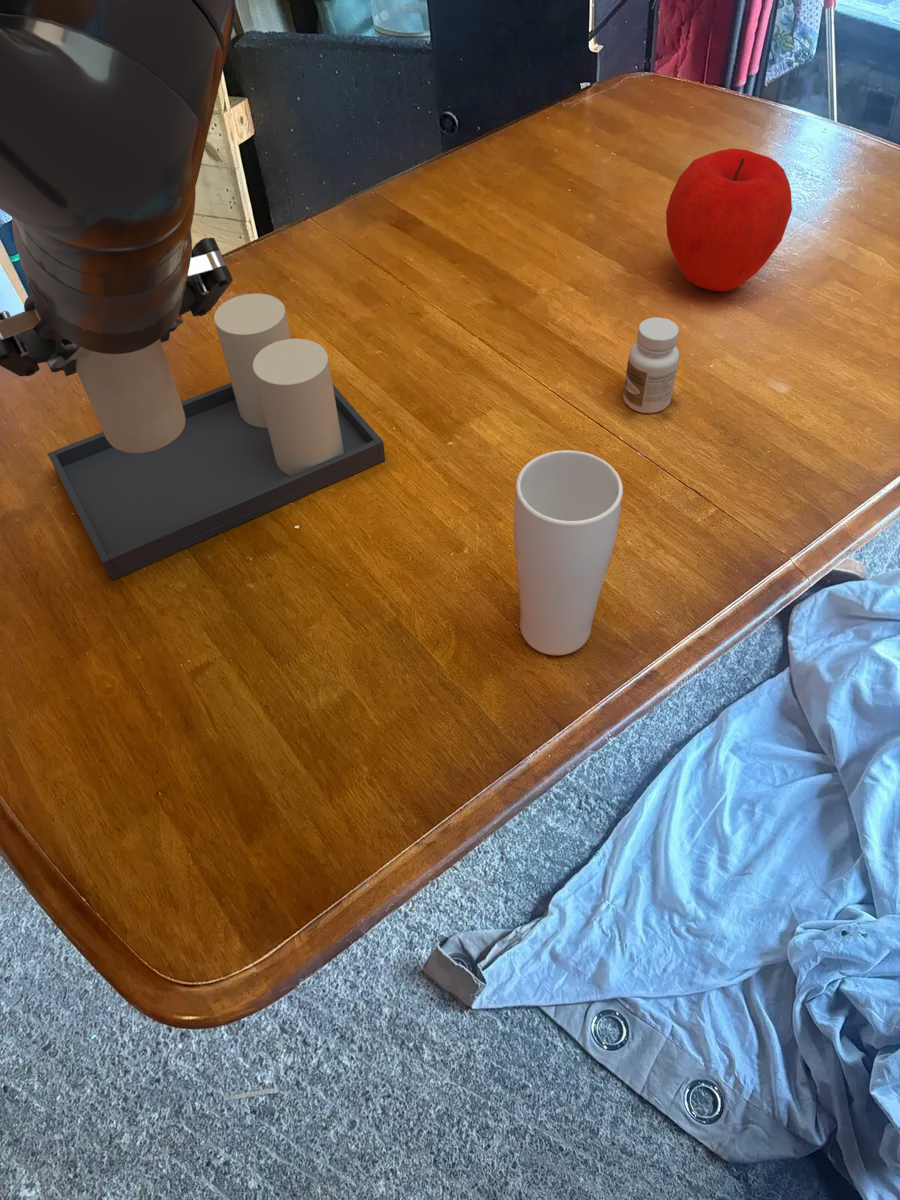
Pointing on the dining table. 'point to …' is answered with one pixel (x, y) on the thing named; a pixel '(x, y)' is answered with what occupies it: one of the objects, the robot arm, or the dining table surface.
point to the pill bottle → (652, 366)
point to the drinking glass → (563, 545)
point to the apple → (727, 217)
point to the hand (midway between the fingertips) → (110, 343)
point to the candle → (133, 398)
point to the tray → (195, 480)
